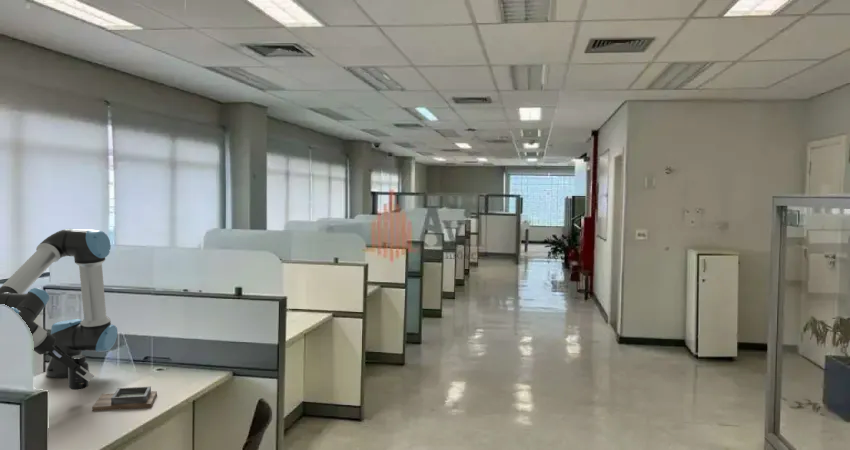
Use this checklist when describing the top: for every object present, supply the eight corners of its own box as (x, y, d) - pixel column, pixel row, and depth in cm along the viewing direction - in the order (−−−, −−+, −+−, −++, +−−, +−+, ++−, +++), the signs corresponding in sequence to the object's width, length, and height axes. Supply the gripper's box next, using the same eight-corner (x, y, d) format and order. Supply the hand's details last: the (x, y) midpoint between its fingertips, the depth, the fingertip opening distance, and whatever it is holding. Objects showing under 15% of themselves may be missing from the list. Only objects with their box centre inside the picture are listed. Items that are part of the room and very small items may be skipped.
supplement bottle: (66, 386, 237) (65, 355, 236) (85, 383, 242) (85, 352, 241) (71, 391, 232) (71, 359, 231) (91, 387, 237) (91, 356, 236)
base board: (101, 397, 243) (101, 387, 243) (156, 394, 249) (156, 385, 248) (92, 410, 229) (92, 400, 229) (150, 407, 234) (151, 397, 234)
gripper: (26, 342, 233) (75, 377, 245) (35, 354, 218) (87, 391, 230) (43, 327, 236) (90, 362, 248) (53, 338, 221) (103, 374, 233)
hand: (88, 376), depth 239 cm, fingers closed on supplement bottle, 7 cm apart
